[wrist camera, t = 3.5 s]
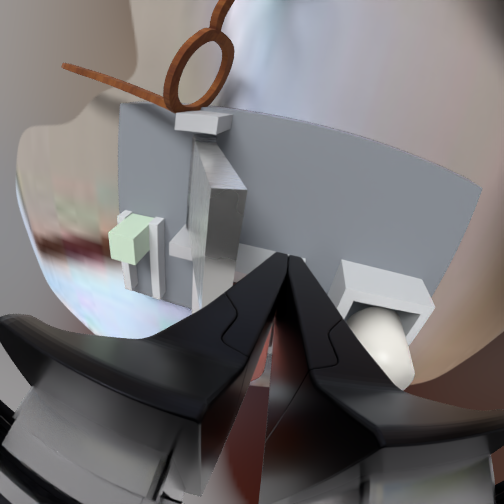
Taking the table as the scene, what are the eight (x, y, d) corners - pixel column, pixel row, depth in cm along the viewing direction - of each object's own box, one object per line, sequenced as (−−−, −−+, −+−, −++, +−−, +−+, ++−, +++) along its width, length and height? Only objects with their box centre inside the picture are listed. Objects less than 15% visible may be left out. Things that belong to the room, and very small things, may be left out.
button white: (411, 312, 14) (427, 364, 11) (384, 352, 16) (391, 402, 13) (355, 300, 15) (364, 357, 11) (333, 344, 17) (333, 397, 13)
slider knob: (155, 218, 17) (133, 239, 15) (156, 242, 18) (135, 265, 15) (132, 213, 17) (108, 232, 15) (133, 237, 18) (111, 258, 16)
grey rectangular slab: (215, 134, 14) (252, 183, 7) (205, 222, 16) (230, 319, 10) (192, 133, 13) (208, 180, 7) (185, 222, 16) (198, 321, 10)
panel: (467, 178, 14) (507, 206, 9) (391, 333, 21) (400, 378, 17) (137, 101, 15) (90, 108, 11) (139, 275, 22) (110, 311, 18)
